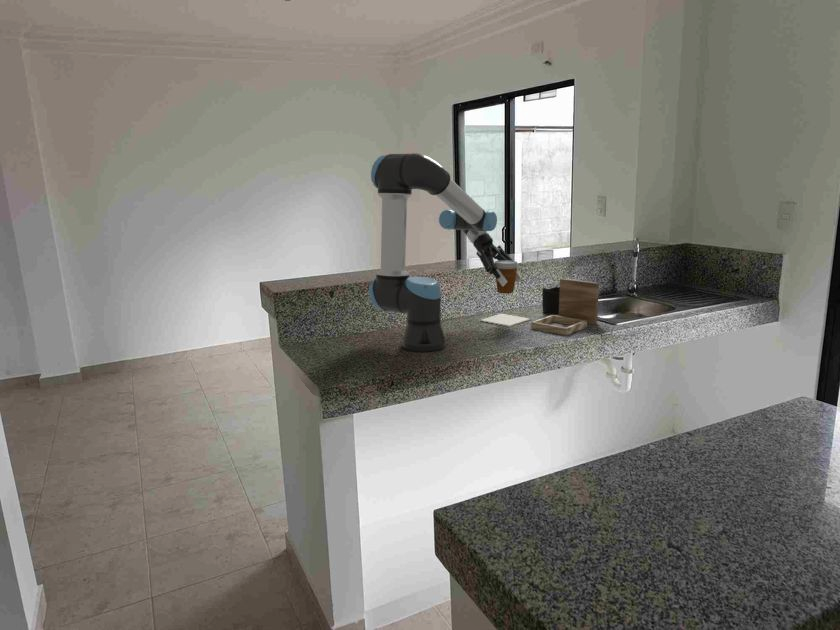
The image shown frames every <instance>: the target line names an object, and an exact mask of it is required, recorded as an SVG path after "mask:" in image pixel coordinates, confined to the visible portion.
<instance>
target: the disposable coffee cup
mask: <svg viewBox="0 0 840 630" xmlns="http://www.w3.org/2000/svg"><path fill="white" fill-rule="evenodd" d="M494 263H495V266H496V269H499V271H500V272H501V273H502V275H503V276H504V277H505V279H506V280H507V283H506V284H505V285H504V286H502V285H501V284H500V282H499V281H498V280H497V278H496V277H495V281H496V282H495V283H496V292H497V293H499V294H513V293H514V290H515V284H516V281H515V278H516V272H518V267H519V264H518V261H516V260H513V261H510V260H500V261H498V260H496V261H494Z"/></svg>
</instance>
